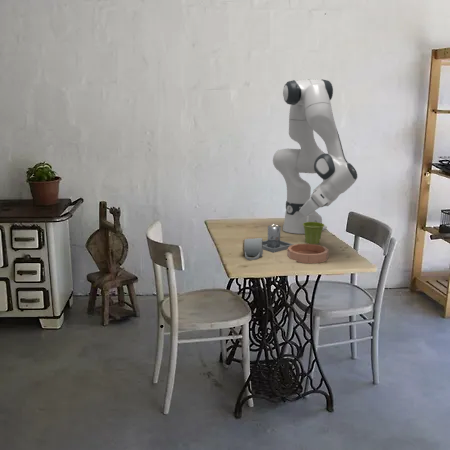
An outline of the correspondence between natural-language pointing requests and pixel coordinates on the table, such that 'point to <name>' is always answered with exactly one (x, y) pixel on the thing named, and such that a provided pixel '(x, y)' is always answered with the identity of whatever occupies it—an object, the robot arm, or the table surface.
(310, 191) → the robot arm
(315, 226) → the plant pot
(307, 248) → the terracotta bowl
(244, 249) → the ceramic mug
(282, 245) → the parts tray
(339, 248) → the table surface
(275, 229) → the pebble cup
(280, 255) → the table surface
